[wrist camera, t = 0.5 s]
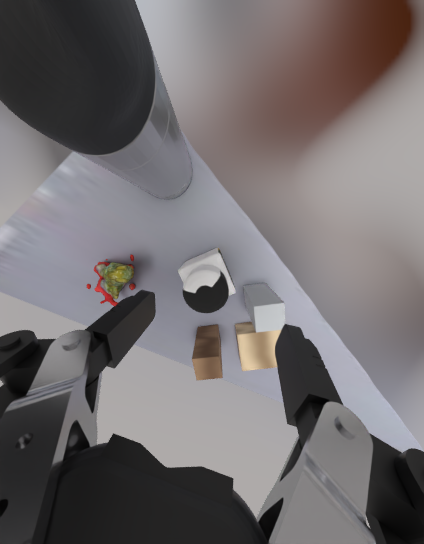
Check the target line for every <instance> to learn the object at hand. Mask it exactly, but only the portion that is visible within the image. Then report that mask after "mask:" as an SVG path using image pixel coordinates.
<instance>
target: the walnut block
mask: <svg viewBox="0 0 424 544" xmlns="http://www.w3.org/2000/svg"><path fill="white" fill-rule="evenodd" d="M192 361H193V366H194V370H195V374H196V379H197V380H206V379H215V378H223V377H222V358H221V341H220V334H219V328H218V324H217V325H209V326H201V327H198V328H197V334H196V340H195V346H194V351H193V357H192Z"/></svg>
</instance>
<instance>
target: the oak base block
mask: <svg viewBox="0 0 424 544" xmlns="http://www.w3.org/2000/svg"><path fill="white" fill-rule="evenodd" d="M235 328H236V335H237V342H238V349H239V356H240V362H241V367H242V371H247V370H256V369H265V368H274V367H277V362H276V357H275V345H276V341H277V339H278V337H279V335H280V332H281V330H274V331H265V332H257V333H256V331H255V329H254V326H253V324H252V322H246V323H238V324H235Z"/></svg>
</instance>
